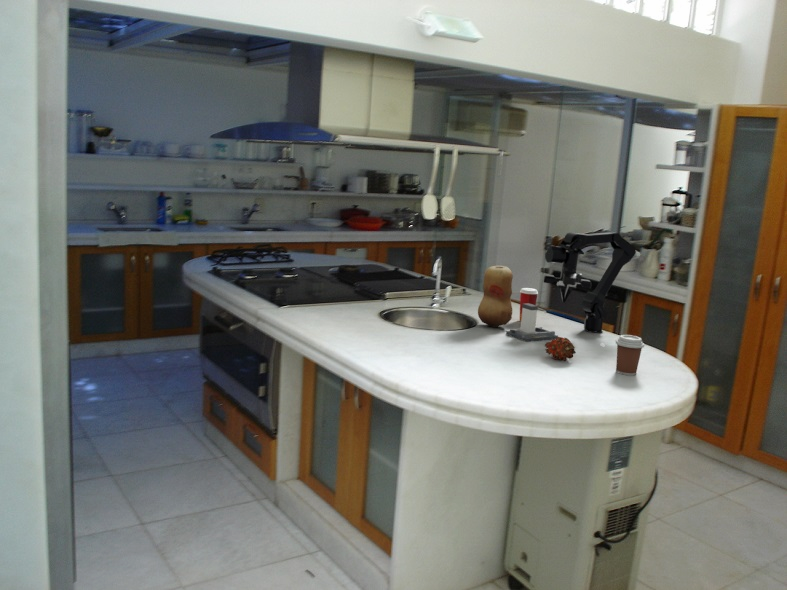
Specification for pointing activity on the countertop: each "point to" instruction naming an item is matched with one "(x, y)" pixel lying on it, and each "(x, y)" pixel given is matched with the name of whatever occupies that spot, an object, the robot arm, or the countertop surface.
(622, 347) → the coffee cup
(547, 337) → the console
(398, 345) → the countertop surface
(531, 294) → the paper cup
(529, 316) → the plate
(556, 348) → the dragon fruit
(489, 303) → the butternut squash
